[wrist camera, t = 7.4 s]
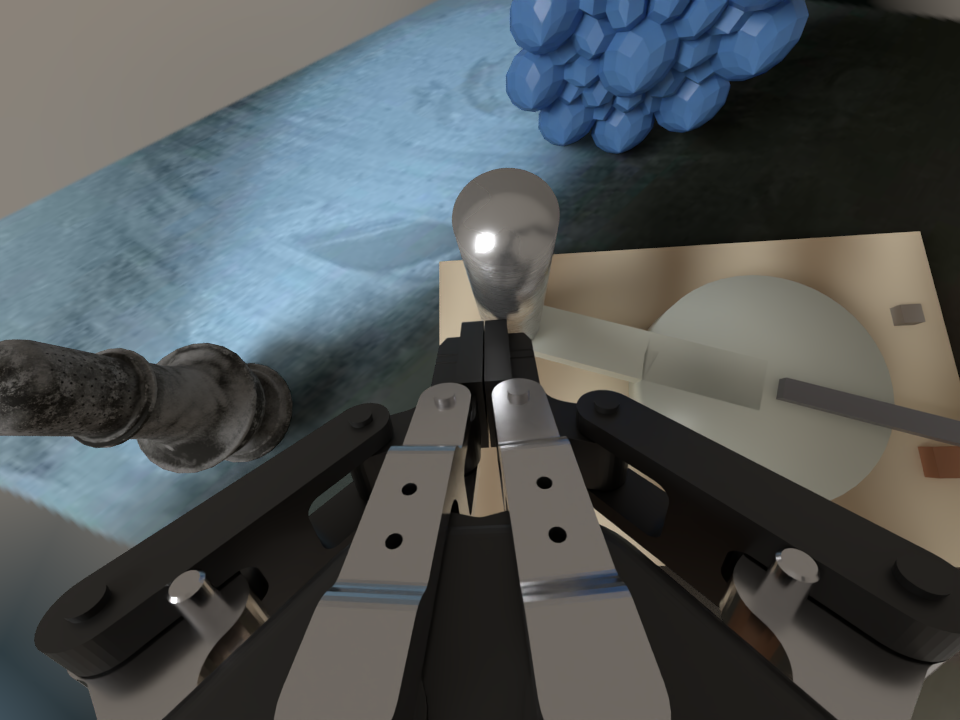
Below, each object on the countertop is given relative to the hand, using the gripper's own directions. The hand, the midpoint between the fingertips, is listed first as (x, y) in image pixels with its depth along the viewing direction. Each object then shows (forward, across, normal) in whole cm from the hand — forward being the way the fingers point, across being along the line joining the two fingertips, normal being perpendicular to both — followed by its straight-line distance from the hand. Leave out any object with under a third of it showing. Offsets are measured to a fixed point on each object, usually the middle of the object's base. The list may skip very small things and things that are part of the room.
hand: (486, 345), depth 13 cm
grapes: (+15, -8, -5) cm, 17 cm away
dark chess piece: (+5, +14, +6) cm, 16 cm away
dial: (+3, -9, +4) cm, 10 cm away
